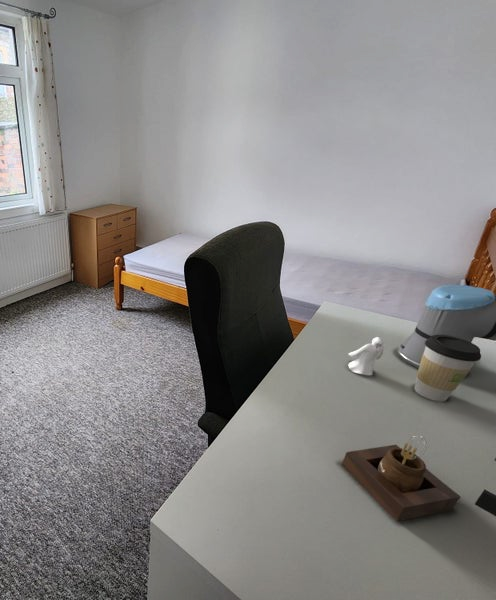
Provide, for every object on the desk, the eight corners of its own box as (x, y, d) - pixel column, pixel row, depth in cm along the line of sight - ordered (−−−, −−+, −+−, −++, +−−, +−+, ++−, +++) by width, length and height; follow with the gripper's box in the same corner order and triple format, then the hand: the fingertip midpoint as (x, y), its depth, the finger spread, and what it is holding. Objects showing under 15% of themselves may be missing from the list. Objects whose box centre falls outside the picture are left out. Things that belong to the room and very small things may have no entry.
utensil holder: (419, 490, 62) (446, 441, 57) (406, 507, 59) (434, 458, 54) (381, 467, 67) (403, 420, 62) (367, 482, 64) (389, 434, 59)
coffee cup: (467, 409, 82) (497, 356, 76) (420, 403, 84) (446, 351, 78) (438, 384, 91) (463, 335, 85) (397, 379, 93) (418, 331, 87)
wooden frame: (389, 457, 69) (396, 444, 68) (452, 510, 59) (461, 496, 57) (341, 464, 67) (346, 451, 66) (396, 521, 57) (404, 507, 56)
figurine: (352, 376, 94) (366, 339, 89) (338, 360, 101) (350, 325, 96) (382, 379, 93) (398, 341, 88) (366, 363, 100) (380, 327, 95)
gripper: (770, 732, 31) (457, 536, 47) (730, 563, 44) (495, 453, 60) (842, 697, 28) (482, 500, 44) (777, 526, 41) (516, 421, 57)
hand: (489, 473), depth 52 cm, fingers open, 13 cm apart
